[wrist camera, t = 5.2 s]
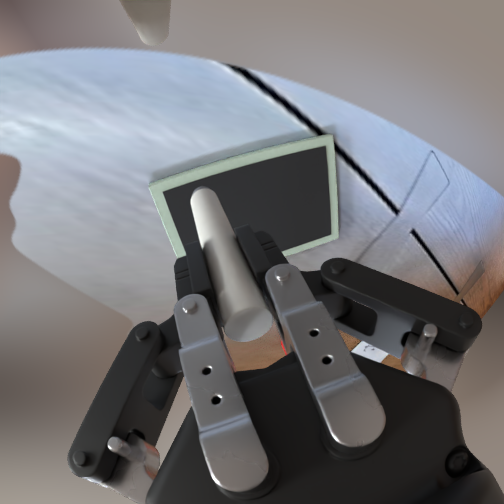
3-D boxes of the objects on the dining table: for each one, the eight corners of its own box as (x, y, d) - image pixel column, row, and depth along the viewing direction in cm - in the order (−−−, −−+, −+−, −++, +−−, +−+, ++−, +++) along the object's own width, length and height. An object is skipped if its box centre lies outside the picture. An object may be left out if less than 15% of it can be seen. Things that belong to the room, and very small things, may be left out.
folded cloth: (423, 315, 70) (427, 320, 68) (374, 363, 76) (377, 368, 74) (401, 297, 60) (406, 303, 58) (342, 355, 66) (346, 361, 64)
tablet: (148, 183, 31) (148, 186, 30) (329, 133, 33) (333, 135, 33) (190, 284, 40) (191, 289, 40) (335, 235, 43) (339, 238, 42)
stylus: (186, 187, 19) (218, 317, 9) (211, 179, 19) (269, 299, 9) (193, 210, 20) (231, 348, 10) (217, 202, 20) (276, 331, 10)
